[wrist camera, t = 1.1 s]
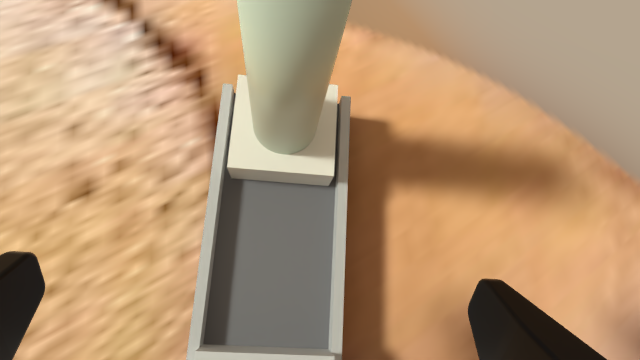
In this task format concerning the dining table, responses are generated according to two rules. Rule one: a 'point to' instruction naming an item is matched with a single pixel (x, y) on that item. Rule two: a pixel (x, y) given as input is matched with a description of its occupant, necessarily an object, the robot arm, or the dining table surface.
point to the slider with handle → (287, 91)
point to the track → (271, 260)
